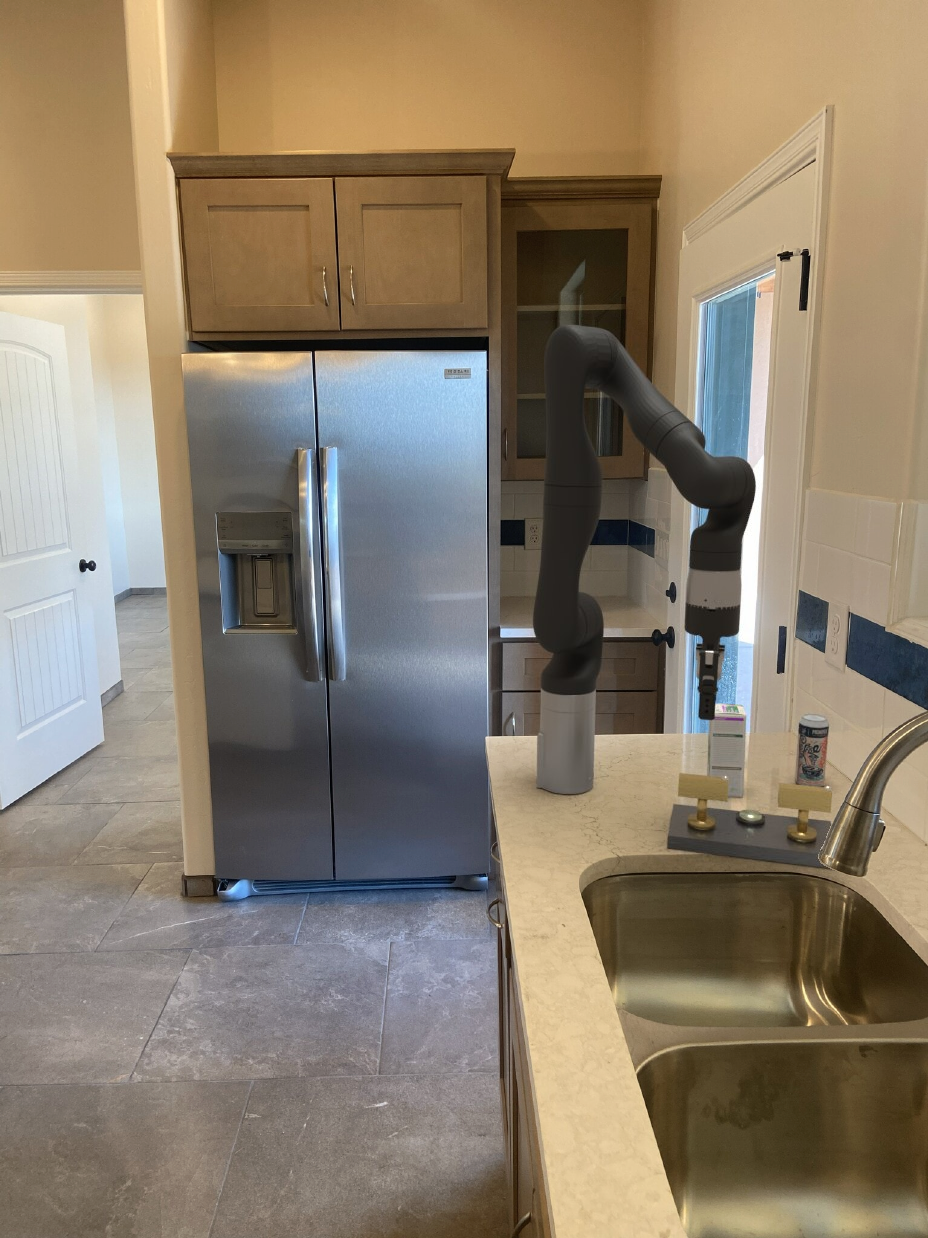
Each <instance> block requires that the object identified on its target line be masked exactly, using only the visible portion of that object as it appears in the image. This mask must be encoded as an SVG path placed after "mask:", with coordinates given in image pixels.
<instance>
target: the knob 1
mask: <svg viewBox="0 0 928 1238" xmlns="http://www.w3.org/2000/svg"><path fill="white" fill-rule="evenodd" d="M678 774H679V776H678V786H677V787H678V789H677V790H678V791H677V797H678V798H687V799H688V798H689V799H697V805H696V806H697V814H691V815H689V816H688V822H687V824H688V826H690V827H691V828H693V829H697V830H711V829H714V828H715V822H716V820H715V818H714V817H712V816H710V815H707V808H708V800H710V801H717V802H726V803H727V802H728V800H729V799H728V798H729V797H728V780H729V778H728V777H727V776H722V777H715V776H707V775H706V774H704V775H703V774H692V773H684V772H680V773H678Z"/></svg>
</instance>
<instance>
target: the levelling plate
mask: <svg viewBox="0 0 928 1238" xmlns="http://www.w3.org/2000/svg"><path fill="white" fill-rule="evenodd" d="M691 814H697V805H689V804H679V803H673V805H672V810H671V817H670V822H669V827H668V832H667V842H666V849H669V850H675V851H676V850H678V851H687V852H691V853H692V852H695V853H702V854H710V855H717V856H725V857H733V858H742V859H750V860H758V861H764V862H765V861H767V862H775V863H782V864H791V865H798V866H806V867H807V866H808V867H815V868H822V869H829V868H828V867H826V866H824V865H823V864H821V863H820V861H819V859H818V854H819V852H820V849H821V847H822V846H823V844H824V841H825V840H826V836H827V833H828V831H829V829H830V826H831V825H832V822H831V820H824V819H816V818H808V826H809V827H812V828H814V829H815V830H816V831H817V838H816V840H815V841H813V842H799V841H795V840H793V839H791V838H789V837H788V836H787V828H788V826H790V825H797V821H798V816H797V817H796V816H788V815H778V814H769V813H761V812H759V811H757V810H754V809H742V810H732V809H725V808H724V809H723V808H715V807H707V815H710V816H712V817H714V818H715V820H716V822H715V828H714V829H711V830H697V829H693V828H691V827H690V826H688V824H687V822H688V816H689V815H691Z"/></svg>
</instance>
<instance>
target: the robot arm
mask: <svg viewBox="0 0 928 1238" xmlns="http://www.w3.org/2000/svg"><path fill="white" fill-rule="evenodd" d="M543 362H544V363H543V365H544V366H543V369H544V371H543V373H544V393H545V395H544V396H545V414H546V416H545V417H546V419H545V420H546V433H545V434H546V435H545V441H546V442H545V443H546V444H545V468H544V469H545V470H544V480H543V483H544V484H543V501H542V504H543V505H542V533H541V546H540V547H541V548H540V565H539V573H538V579H537V580H538V581H537V586H536V592H535V593H536V594H535V598H534V606H533V615H532V628H533V633H534V636H535V638H536V641H537V642H538V644H539V645H540V646H541V648H543V649H544V650H545V651H547V652H549V653H551V654H552V657H551V658H550V661H549V662H548V663H547V665H546V666H545V668H543V670H542V672H541V674H540V721H539V722H540V726H539V728H540V729H539V732H538V733H537V738H536V746H537V747H536V788H537V789H543V790H546V791H549V792H551V793H555V794H561V795H577V794H583V793H587V792H588V791H590V790H591V789H592V788H594V778H595V777H594V776H595V772H594V771H595V766H594V764H595V735H596V702H597V701H596V698H597V697H596V696H597V695H596V694H597V691H596V690H597V679H598V677H599V674H600V673H601V668H602V662H603V661H602V660H603V648H604V647H603V646H604V633H605V631H604V628H605V626H604V614H603V610H602V608H601V606H600V604H599V602H598V600H597V599H595V597H594V596H592V595H591V594H589V593H587V592H583V591H580V578H581V572H582V566H583V562H584V559H585V557H586V554H587V552H588V549H589V547H590V545H591V542H592V540H593V537H594V535H595V533H596V530H597V527H598V523H599V521H600V515H601V511H602V510H601V509H602V498H603V497H602V496H603V472H602V468H601V467H602V466H601V463H600V460H599V459H598V455H597V452H596V451H595V447H594V445H593V442H592V440H591V438H590V435H589V433H588V429H587V426H586V421H585V389H589V390H590V389H596V390H598V391H600V392H602V393H603V394H605V395H607V396H608V397H609V398H610V399H612V400H613V401H614V402H616V403H617V405H618V406H619V407H620V408H621V409H622V411H623V412H624V415H625V417H626V420H627V423H628V425H629V428H630V430H631V432H632V435H634V437H635V438H636V439H637V441H638V442H639V443H640V444H641V445H642V446H643V448H644V449H646V451H648V452H649V453H650V454H651V455H652V456H653V458H655V459H656V460H657V461H658V462H659V463H661V465H663V466H664V468H665V470H666V472H667V475H668V476H669V478H670V479H671V481H672V482H673V484H674V486H675V488H676V489H677V491H678V492H679V494H680V495H681V496H682V497H683V498H684V499H685V500H686V501H687V502H688V503H690V504H691V505H693V506H695V507H696V508H698V509H699V508H700V509H704V510H708V512H707V515H706V519H705V521H704V522H703V524H701V525H699V526H697V527H696V528H694V530H693V531H692V533H691V535H690V539H689V542H690V543H689V555H688V556H689V559H688V560H689V561H688V563H689V564H688V567H689V568H688V573H687V578H686V586H685V606H684V627H683V628H684V631H685V632H686V633H687V634H689V635H691V636H699V637H700V638H701V639H702V642H701V643H700V642H697V643H696V646H695V660H696V670H695V671H696V672H695V674H696V675H695V676H696V678H697V679H698V685H697V688H696V689H697V691H698V694H699V697H698V700H699V701H698V717H697V718H699V719H700V720H704V721H709V720H713V719H714V718H715V704H716V702H717V694H718V693H719V687H718V681H719V680H721V679H722V674H723V673H722V669H723V662H724V661H725V653H726V652H725V651H726V650H725V649H726V644H721V638H730V637H731V638H732V637H735V636H737V635H738V634H739V632H740V622H741V621H740V619H741V606H742V605H741V602H742V577H741V576H742V575H741V574H742V573H741V572H742V571H741V568H742V551H743V538H744V535H745V531H746V529H747V526H748V522H749V521H750V516H751V512H752V509H753V505H754V502H755V497H756V489H757V485H756V484H757V483H756V476H755V471H754V470H753V467H752V466H751V464H750V463H749V462H748V461H747V460H746V459H744V458H742V457H739V456H733V455H731V456H713V455H711V454H710V453H709V452H708V451H706V450H705V448H706V443H707V442H706V436H705V435H704V433H703V431H701V429H700V428H699V427H698V426H697V425H696V424H695V423H694V422H693V421H691V419H690V418H688V417H687V416H686V415H685V414H684V413H683V412H681V411H680V410H679V409H678V408H677V407H676V406H675V405H674V404H673V403H671V401H669V400H668V399H667V398H666V396H664V395H663V394H662V393H661V392H660V391H659V390H658V389H657V388H656V386H655V385H654V384H653V383H652V382H651V381H650V380H649V378H648V377H647V376H646V374H645V373H644V372H643V371H642V369H641V368H640V367H639V365H638V364H637V363H636V361H634V360H633V358H632V357H631V355H630V354H629V352H628V351H627V349H626V348H625V347H624V345H623V344H622V343H621V342H620V340H619V339H618V338H617V337H616V336H615V335H614V334H613V333H612V332H610V331H608V330H607V329H604V328H602V327H594V326H586V325H581V324H580V325H578V324H562V325H560V326H558V327H557V328H555V330H553V332H552V333H551V335H550V336H549V338H548V341H547V344H546V346H545V351H544V361H543Z"/></svg>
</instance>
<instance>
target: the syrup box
mask: <svg viewBox="0 0 928 1238" xmlns="http://www.w3.org/2000/svg"><path fill="white" fill-rule="evenodd" d="M746 730H747V714H746V710H745V708H744V705H742V704H736V703H735V704H734V703H715V718H714V719H713V720H708V734H707V735H708V738H707V739H708V740H707V741H708V742H707V761H706V762H707V764H706V765H707V766H706V776H715V777H722V776H727V777H728V778H729V780H728V798H741V799H742V798H743V797H744V783H745V768H746V767H745V764H746V737H747V736H746V734H747V731H746Z"/></svg>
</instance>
